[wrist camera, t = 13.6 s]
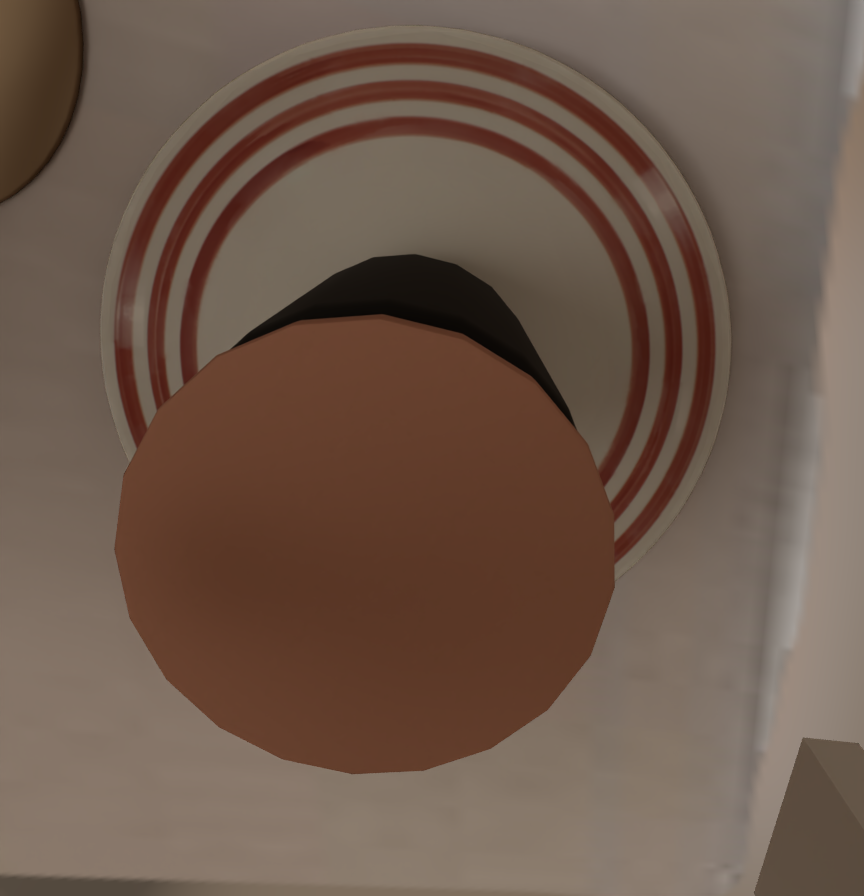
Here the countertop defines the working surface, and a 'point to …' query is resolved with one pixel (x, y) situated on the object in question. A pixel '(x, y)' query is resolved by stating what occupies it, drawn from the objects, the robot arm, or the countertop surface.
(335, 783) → the countertop surface
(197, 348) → the dinner plate
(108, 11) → the countertop surface
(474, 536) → the coffee jar
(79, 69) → the cork trivet
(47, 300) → the countertop surface
